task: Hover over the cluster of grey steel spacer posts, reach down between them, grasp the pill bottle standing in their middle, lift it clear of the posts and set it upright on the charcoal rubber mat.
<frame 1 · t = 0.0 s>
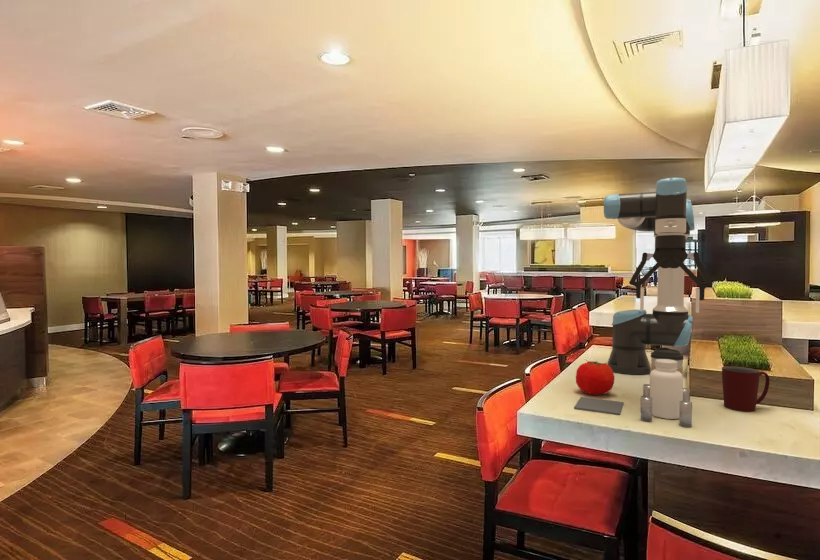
hand: (668, 311, 134), 28 cm above the table, fingers open, 13 cm apart
pill bottle: (665, 415, 131), on the table
coffee cup: (666, 398, 147), on the table
mug: (745, 408, 137), on the table
mat: (599, 406, 139), on the table
tomato: (594, 394, 153), on the table
spacers: (665, 415, 131), on the table
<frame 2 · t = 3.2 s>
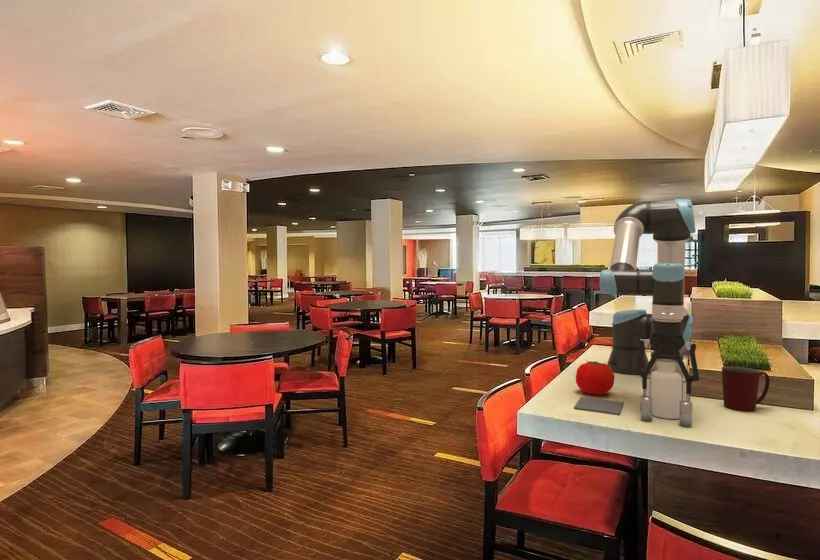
hand: (665, 403, 131), 3 cm above the table, fingers closed on pill bottle, 8 cm apart
pill bottle: (665, 415, 131), on the table, touching gripper
everything else where it was.
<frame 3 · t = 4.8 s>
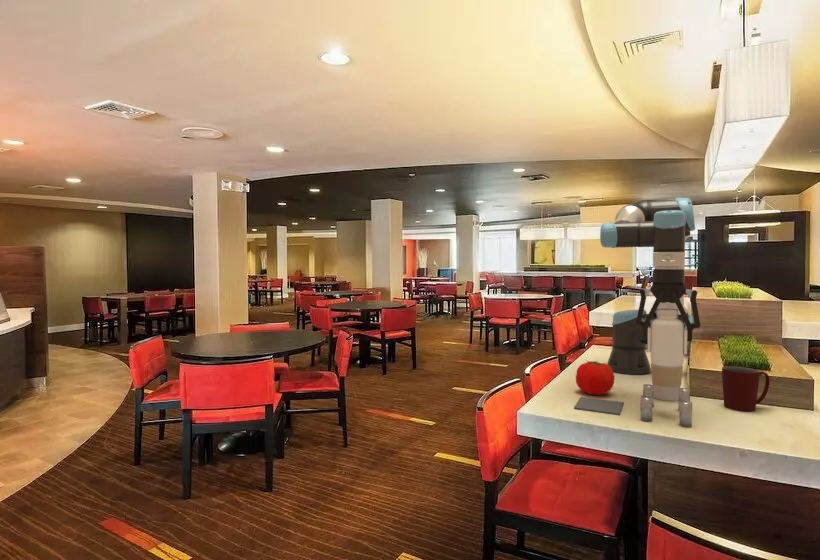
hand: (666, 351, 130), 17 cm above the table, fingers closed on pill bottle, 8 cm apart
pill bottle: (666, 364, 131), point 14 cm above the table, touching gripper
everything else where it was.
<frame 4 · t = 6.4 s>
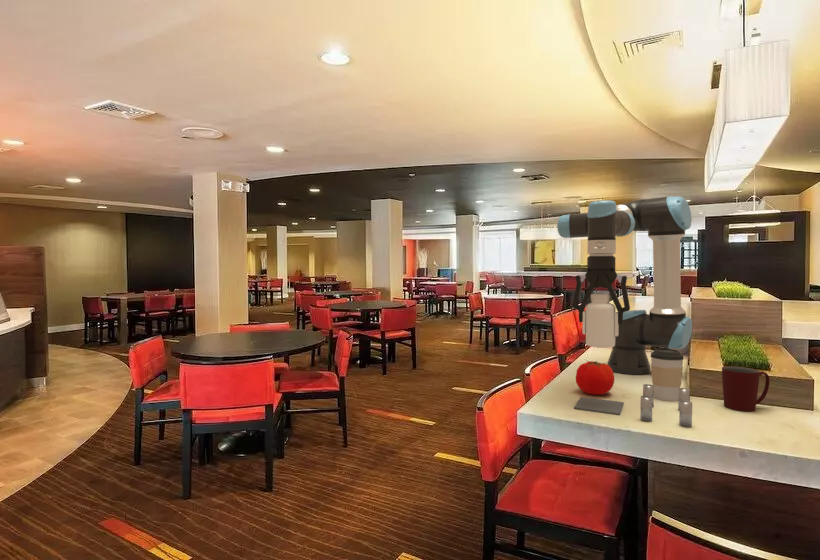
hand: (600, 334, 138), 21 cm above the table, fingers closed on pill bottle, 8 cm apart
pill bottle: (600, 346, 138), point 17 cm above the table, touching gripper
everything else where it was.
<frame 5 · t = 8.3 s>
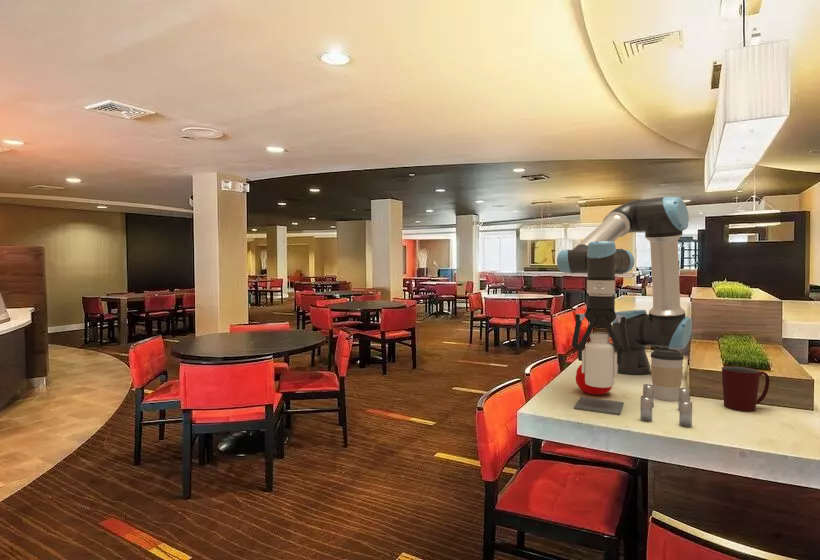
hand: (599, 373, 138), 10 cm above the table, fingers closed on pill bottle, 8 cm apart
pill bottle: (599, 385, 138), point 6 cm above the table, touching gripper
everything else where it was.
when the fingers open (5 cm above the table, at t = 9.8 s): pill bottle stays where it is, resting on mat.
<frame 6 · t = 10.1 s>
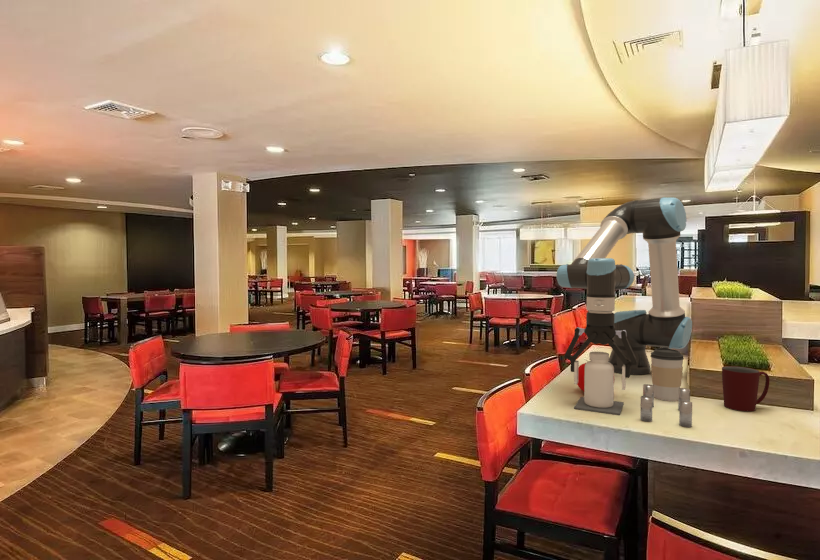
hand: (599, 386, 139), 6 cm above the table, fingers open, 12 cm apart
pill bottle: (598, 405, 139), resting on mat
everything else where it was.
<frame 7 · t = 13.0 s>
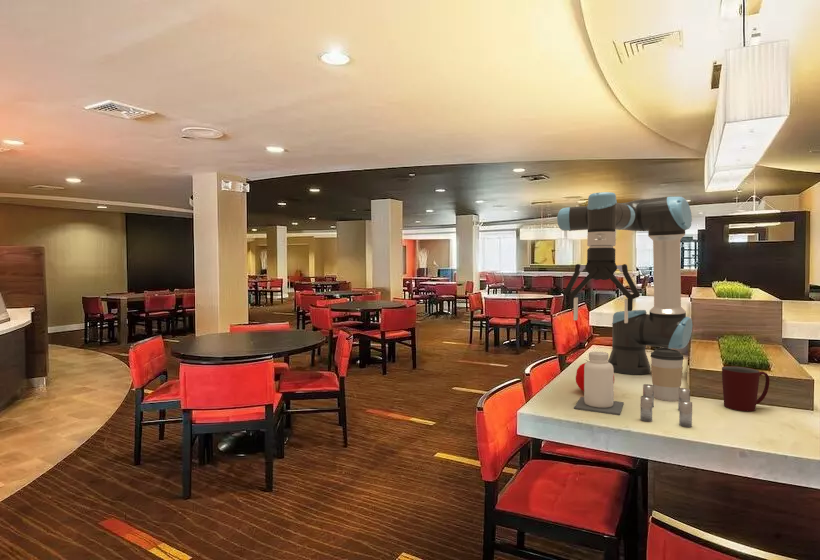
hand: (600, 321, 138), 25 cm above the table, fingers open, 13 cm apart
nothing on the table moved.
at the end: pill bottle inside the target area on the mat (0.2 cm from its centre), point 0.3 cm above the mat's base; pill bottle tilted 0°; the gripper is holding nothing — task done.
